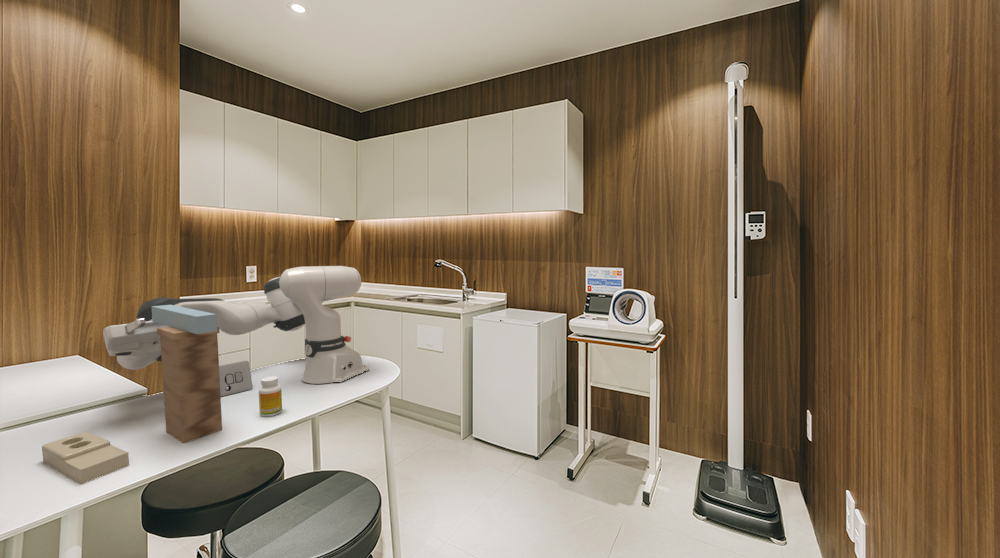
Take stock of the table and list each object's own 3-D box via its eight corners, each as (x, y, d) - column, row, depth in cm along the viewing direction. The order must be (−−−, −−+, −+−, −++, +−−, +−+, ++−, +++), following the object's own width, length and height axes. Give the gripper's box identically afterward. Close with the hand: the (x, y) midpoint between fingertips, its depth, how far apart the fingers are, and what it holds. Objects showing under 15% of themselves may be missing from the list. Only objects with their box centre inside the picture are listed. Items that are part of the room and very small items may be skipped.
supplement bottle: (285, 412, 109) (283, 378, 108) (263, 419, 105) (261, 383, 104) (278, 407, 113) (277, 374, 112) (257, 413, 109) (255, 378, 108)
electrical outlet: (80, 465, 76) (41, 444, 83) (82, 485, 76) (42, 463, 84) (127, 448, 82) (87, 430, 90) (129, 466, 83) (88, 447, 90)
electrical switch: (218, 398, 119) (216, 367, 119) (213, 395, 122) (210, 365, 122) (253, 389, 126) (251, 360, 126) (247, 387, 130) (245, 359, 129)
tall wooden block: (206, 419, 104) (200, 322, 102) (224, 429, 99) (219, 326, 97) (163, 432, 97) (156, 328, 95) (180, 444, 91) (174, 333, 89)
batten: (171, 319, 106) (170, 304, 106) (217, 331, 92) (216, 314, 92) (152, 321, 102) (151, 306, 102) (197, 334, 89) (196, 316, 88)
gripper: (196, 341, 117) (214, 323, 110) (101, 357, 100) (115, 337, 93) (190, 322, 118) (208, 302, 111) (95, 335, 101) (109, 312, 94)
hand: (165, 318), depth 102 cm, fingers open, 8 cm apart
